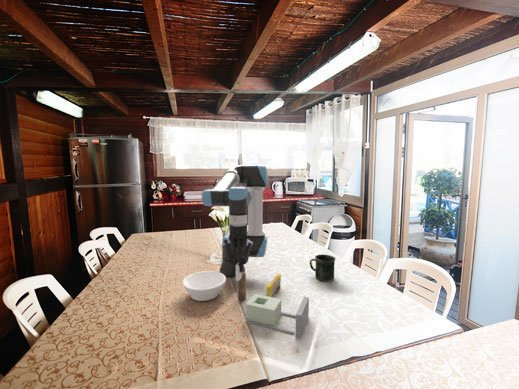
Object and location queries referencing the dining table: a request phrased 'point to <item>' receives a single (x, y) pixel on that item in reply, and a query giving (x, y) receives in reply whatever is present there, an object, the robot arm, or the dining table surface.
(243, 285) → the dowel
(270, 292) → the candy box
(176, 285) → the dining table surface
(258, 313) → the block
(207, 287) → the bowl
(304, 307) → the board
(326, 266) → the mug
